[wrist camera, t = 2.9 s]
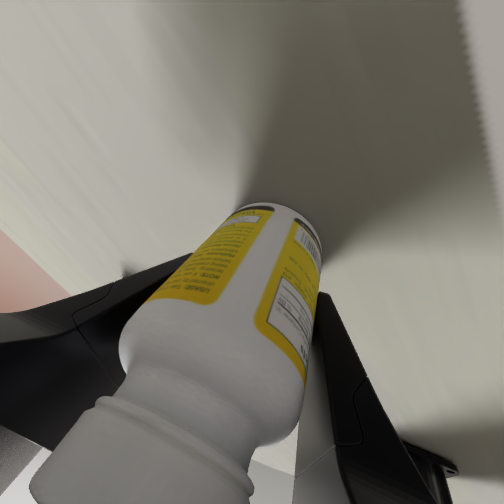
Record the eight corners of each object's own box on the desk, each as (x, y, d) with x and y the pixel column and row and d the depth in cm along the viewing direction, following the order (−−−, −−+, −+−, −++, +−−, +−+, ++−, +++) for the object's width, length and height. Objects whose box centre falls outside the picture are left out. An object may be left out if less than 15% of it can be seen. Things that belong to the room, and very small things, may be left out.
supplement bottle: (215, 260, 13) (42, 470, 6) (240, 179, 10) (-118, 438, 2) (293, 301, 13) (221, 584, 5) (347, 232, 9) (363, 757, 2)
